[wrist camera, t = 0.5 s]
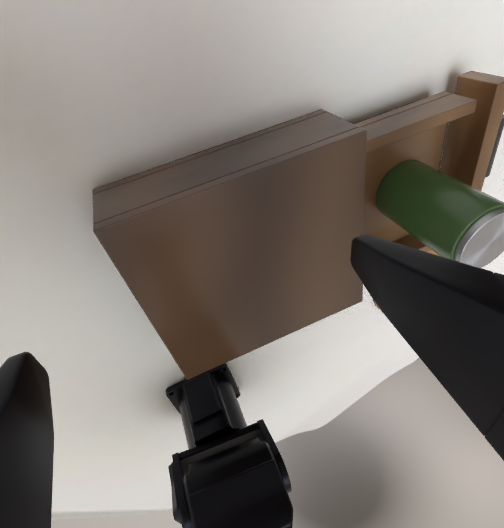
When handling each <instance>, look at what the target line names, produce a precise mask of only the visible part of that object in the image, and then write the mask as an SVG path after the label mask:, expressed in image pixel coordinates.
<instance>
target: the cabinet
mask: <svg viewBox="0 0 504 528" xmlns="http://www.w3.org/2000/svg"><path fill="white" fill-rule="evenodd" d="M366 146H367V130H365V129H363V128H361V127H359V126H356V125H354V124H352V123H350V122H348V121H346V120H344V119H342V118H340V117H338V116H336V115H333V114H331V113H329V112H327V111H325V110H323V109H322V110H319V111H316V112H313V113H310V114H307V115H305V116H302V117H299V118H296V119H293V120H290V121H287V122H285V123H282V124H279V125H276V126H273V127H270V128H268V129H265V130H262V131H259V132H256V133H253V134H250V135H248V136H245V137H242V138H239V139H236V140H233V141H230V142H228V143H225V144H222V145H219V146H216V147H213V148H211V149H208V150H205V151H202V152H199V153H196V154H193V155H191V156H188V157H185V158H182V159H179V160H176V161H173V162H171V163H168V164H165V165H162V166H159V167H156V168H154V169H151V170H148V171H145V172H142V173H139V174H136V175H134V176H131V177H128V178H125V179H122V180H119V181H117V182H114V183H111V184H108V185H105V186H102V187H99V188H97V189H94V190H93V224H94V225H93V231H94V233H95V235H96V236H97V238H98V240H99V241H100V243H101V244H102V246H103V247H104V249H105V251H106V252H107V254H108V255H109V257H110V258H111V260H112V262H113V263H114V265H115V266H116V268H117V270H118V271H119V273H120V274H121V276H122V277H123V279H124V281H125V282H126V284H127V285H128V287H129V288H130V290H131V292H132V293H133V295H134V296H135V298H136V300H137V301H138V303H139V304H140V306H141V307H142V309H143V311H144V312H145V314H146V315H147V317H148V319H149V320H150V322H151V323H152V325H153V326H154V328H155V330H156V331H157V333H158V334H159V336H160V337H161V339H162V341H163V342H164V344H165V345H166V347H167V349H168V350H169V352H170V353H171V355H172V356H173V358H174V360H175V361H176V363H177V364H178V366H179V368H180V369H181V371H182V372H183V374H184V375H185V377H186V379H187V380H188V379H191V378H193V377H195V376H197V375H199V374H202V373H204V372H206V371H208V370H211V369H213V368H215V367H217V366H219V365H222V364H224V363H226V362H228V361H230V360H233V359H235V358H237V357H239V356H242V355H244V354H246V353H248V352H250V351H253V350H255V349H257V348H259V347H261V346H264V345H266V344H268V343H270V342H273V341H275V340H277V339H279V338H281V337H284V336H286V335H288V334H290V333H293V332H295V331H297V330H299V329H301V328H304V327H306V326H308V325H310V324H312V323H315V322H317V321H319V320H321V319H324V318H326V317H328V316H330V315H332V314H335V313H337V312H339V311H341V310H343V309H346V308H348V307H350V306H352V305H355V304H357V303H359V302H361V301H362V295H363V283H362V281H361V280H360V278H359V276H358V275H357V273H356V272H355V270H354V269H353V267H352V265H351V261H350V257H351V245H352V240H353V239H354V238H355V237H358V236H361V235H364V220H365V183H366Z"/></svg>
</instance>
